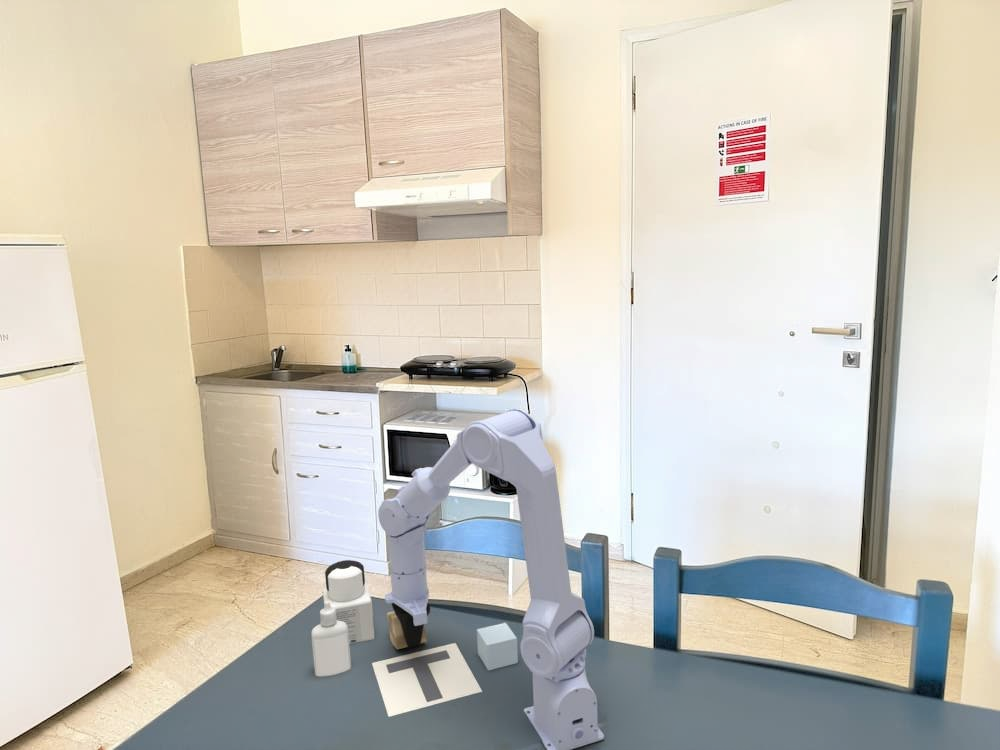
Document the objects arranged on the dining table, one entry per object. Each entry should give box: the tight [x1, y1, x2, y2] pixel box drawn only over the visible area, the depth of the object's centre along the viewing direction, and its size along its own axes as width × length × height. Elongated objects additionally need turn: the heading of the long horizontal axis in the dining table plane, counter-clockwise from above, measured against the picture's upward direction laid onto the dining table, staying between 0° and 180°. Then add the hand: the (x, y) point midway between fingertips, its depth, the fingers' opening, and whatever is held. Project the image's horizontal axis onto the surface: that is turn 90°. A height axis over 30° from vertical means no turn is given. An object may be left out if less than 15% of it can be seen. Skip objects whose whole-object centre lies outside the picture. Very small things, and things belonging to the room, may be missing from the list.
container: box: [322, 559, 375, 645], centre depth 116 cm, size 8×8×13 cm
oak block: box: [386, 610, 427, 650], centre depth 113 cm, size 5×5×5 cm
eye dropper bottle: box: [310, 601, 352, 677], centre depth 105 cm, size 4×6×12 cm
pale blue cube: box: [476, 622, 519, 671], centre depth 107 cm, size 5×5×5 cm
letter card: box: [371, 642, 483, 718], centre depth 103 cm, size 14×14×1 cm
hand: (413, 644), depth 110 cm, fingers closed
